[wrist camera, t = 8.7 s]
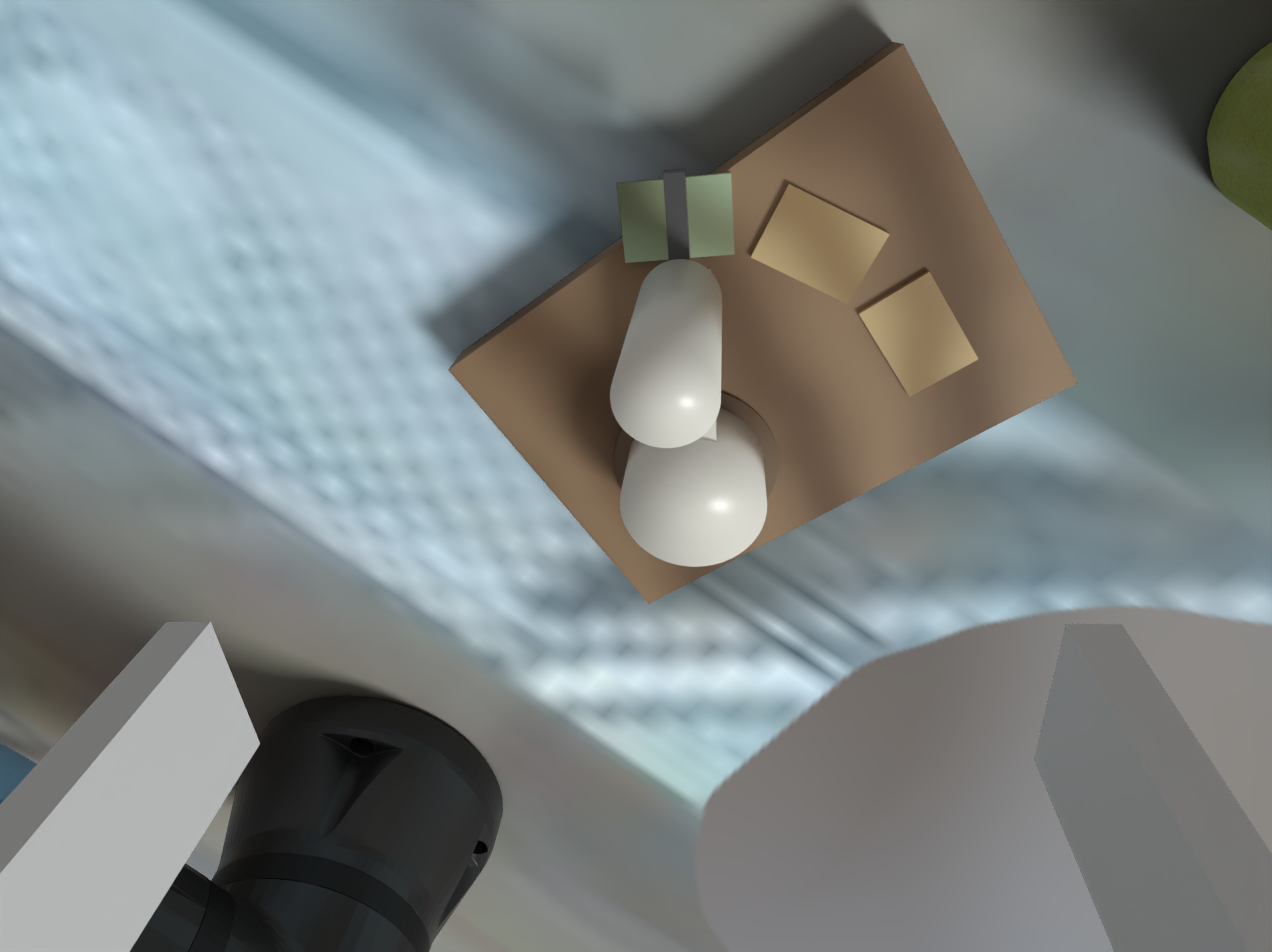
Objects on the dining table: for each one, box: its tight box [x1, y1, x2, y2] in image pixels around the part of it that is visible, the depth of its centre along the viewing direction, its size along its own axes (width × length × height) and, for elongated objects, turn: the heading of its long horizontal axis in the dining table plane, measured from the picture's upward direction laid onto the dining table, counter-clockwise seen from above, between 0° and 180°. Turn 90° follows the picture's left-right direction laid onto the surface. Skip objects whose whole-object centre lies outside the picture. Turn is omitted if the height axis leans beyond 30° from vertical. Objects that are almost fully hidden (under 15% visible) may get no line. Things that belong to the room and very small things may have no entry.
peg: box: [610, 169, 767, 567], centre depth 27 cm, size 15×6×11 cm, turn 5°
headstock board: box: [449, 42, 1077, 604], centre depth 33 cm, size 20×16×2 cm
